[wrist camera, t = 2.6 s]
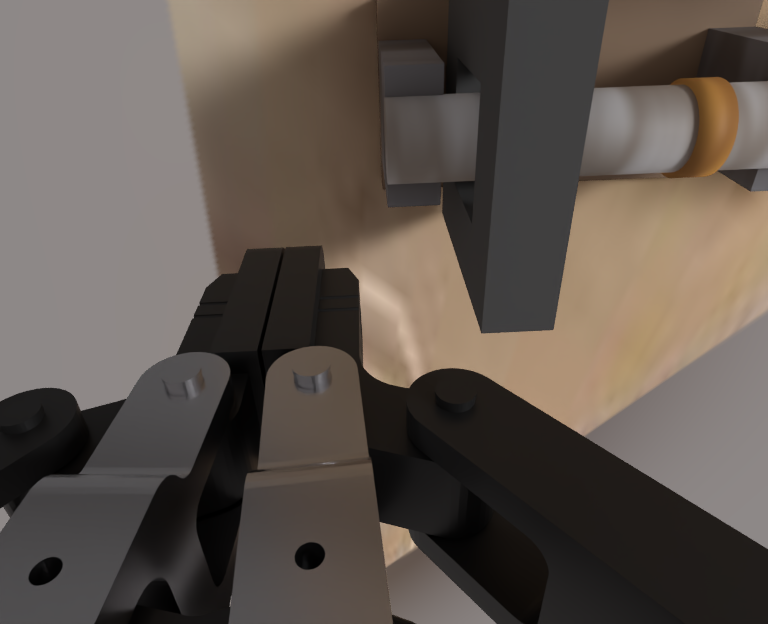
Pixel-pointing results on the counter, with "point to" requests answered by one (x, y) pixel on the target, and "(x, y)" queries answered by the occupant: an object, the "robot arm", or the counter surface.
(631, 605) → the robot arm
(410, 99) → the pipe stand
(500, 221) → the collar
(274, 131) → the counter surface
